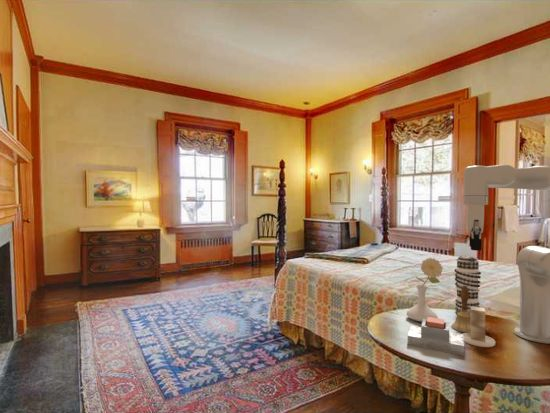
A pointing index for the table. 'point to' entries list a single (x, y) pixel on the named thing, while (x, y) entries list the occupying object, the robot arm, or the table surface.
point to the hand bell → (463, 314)
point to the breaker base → (436, 338)
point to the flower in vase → (421, 309)
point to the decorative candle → (467, 282)
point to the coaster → (488, 341)
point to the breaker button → (435, 322)
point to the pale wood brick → (477, 324)
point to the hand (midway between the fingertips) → (475, 248)
